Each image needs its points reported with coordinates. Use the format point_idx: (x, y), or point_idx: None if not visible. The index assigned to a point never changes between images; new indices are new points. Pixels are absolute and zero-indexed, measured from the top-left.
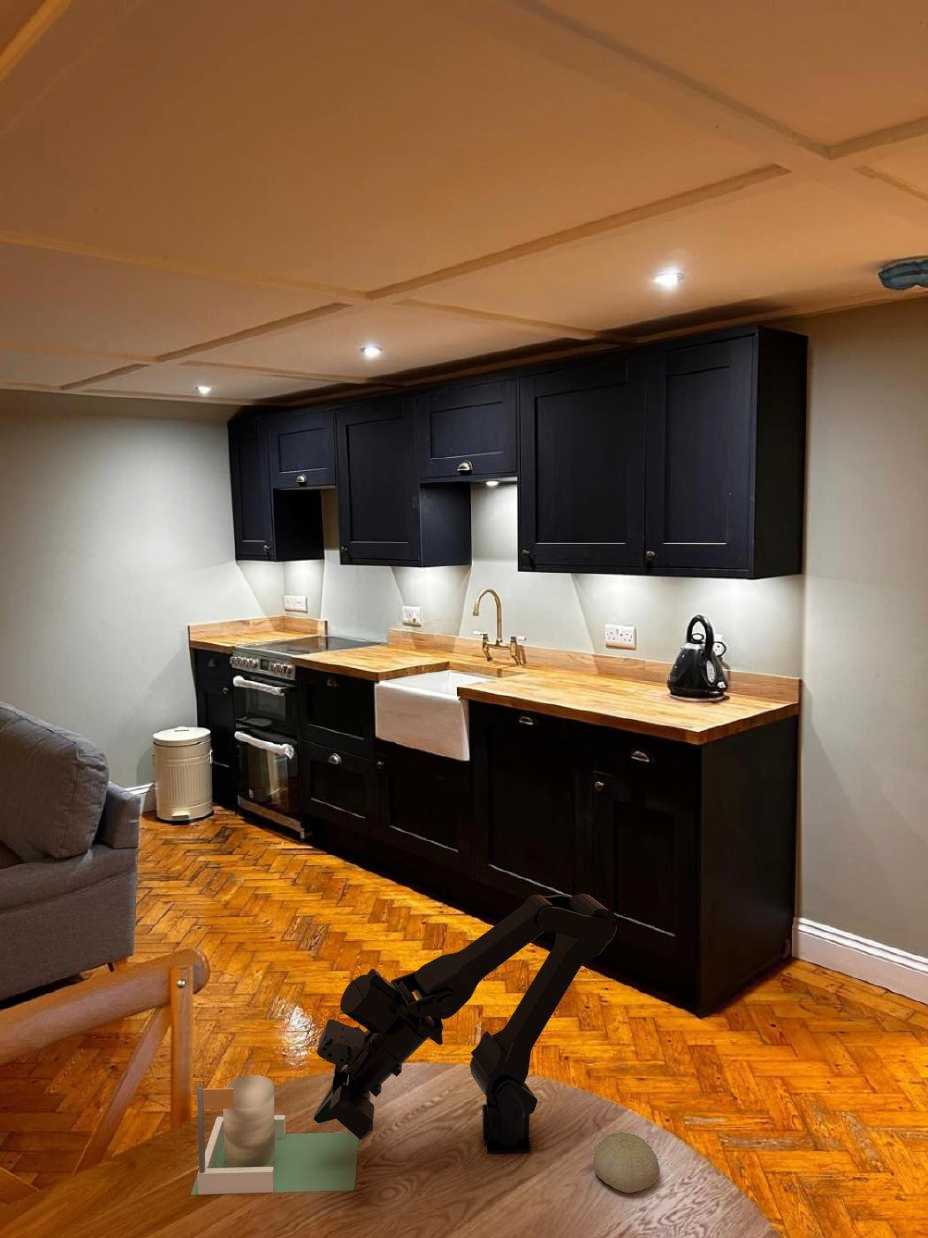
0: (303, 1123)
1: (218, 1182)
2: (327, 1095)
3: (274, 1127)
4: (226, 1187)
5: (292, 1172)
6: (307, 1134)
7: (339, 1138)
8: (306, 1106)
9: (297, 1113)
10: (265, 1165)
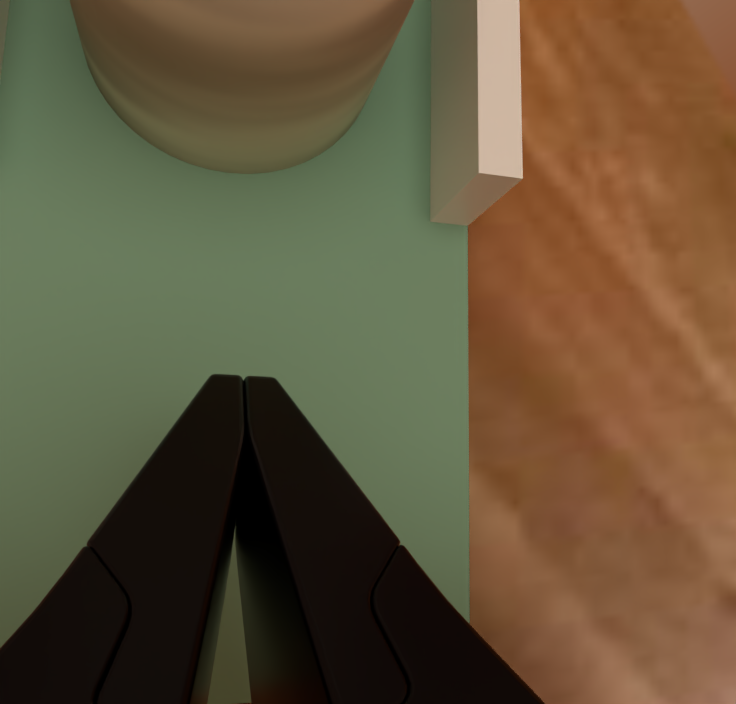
0: (584, 326)
1: None
2: (307, 565)
3: (259, 45)
4: None
5: (117, 279)
6: (460, 351)
7: (418, 556)
8: (709, 334)
9: (658, 290)
10: (120, 93)
